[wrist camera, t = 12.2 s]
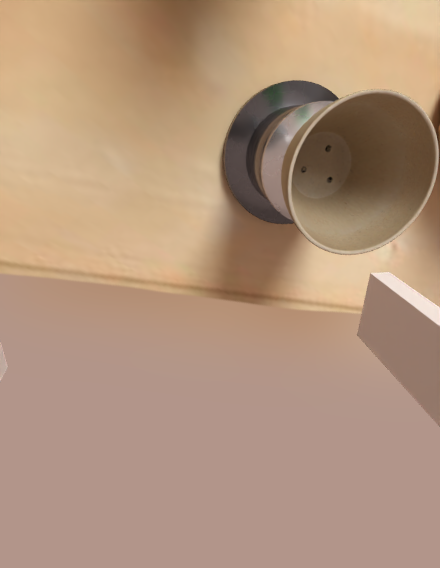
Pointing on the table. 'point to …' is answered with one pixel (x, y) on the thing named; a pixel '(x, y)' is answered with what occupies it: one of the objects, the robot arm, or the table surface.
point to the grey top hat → (268, 144)
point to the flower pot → (360, 171)
